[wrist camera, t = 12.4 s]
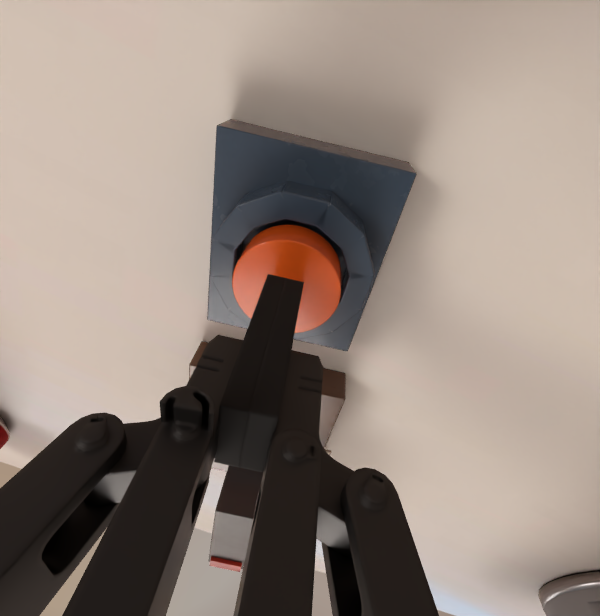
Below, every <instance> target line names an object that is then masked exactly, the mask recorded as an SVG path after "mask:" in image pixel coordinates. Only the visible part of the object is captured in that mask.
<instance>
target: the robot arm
mask: <svg viewBox="0 0 600 616" xmlns="http://www.w3.org/2000/svg"><path fill="white" fill-rule="evenodd" d="M303 285H304V282H301V281H297V280H293V279H288V278H284V277H280V276H275V275H271V274H268V275H267V278H266V280H265V283H264V286H263V289H262V291H261V294H260V297H259V299H258V302H257V305H256V308H255V310H254V313H253V316H252V318H251V321H250V324H249V327H248V329H247V332H246V335H245V337H244V340H239V339H234V338H230V337H225V336H221V335H218V336H216V337H215V338H214V339H213V340H211V341H210V342H209V343H208V344H207V345H206V347H205V349H204V351H203V353H202V356H201V357H200V359H199V361H198V363H197V367H196V368H195V370H194V372H193V374H192V376H191V378H190V380H189V382H188V384H187V386H184V387H180V388H176V389H174V390H172V391H171V392H169V393H167V394H166V395H165V396H164V397H163V399H162V400H161V401H160V411H161V418H159V419H156V420H153V421H148V422H139V423H127V424H123V423H122V421H121V420H120V419H119V418H118V417H116V416H115V415H112V414H108V413H95V414H91V415H88V416H85V417H83V418H80V419H79V420H78V421H76V422H75V423H73V424H72V425H70V426H69V427H68V428H67V429H66V430H65V431H64V432H63V433H61V434H60V435H59V436H58V437H57V438H56V439H55V440H54V441H53V442H51V443H50V444H49V445H48V446H47V447H46V448H45V449H44V450H43V451H41V452H40V453H39V454H38V455H37V456H36V457H35V458H34V459H33V460H31V461H30V462H29V463H28V464H27V465H26V466H25V467H24V468H23V469H21V470H20V471H19V472H18V473H17V474H16V475H15V476H14V477H13V478H11V479H10V480H9V481H8V482H7V483H6V484H5V485H4V486H3V487H1V488H0V616H39V615H40V614H41V613H42V612H43V610H44V609H45V608H46V606H47V605H48V604H49V602H50V601H51V600H52V598H53V597H54V596H55V595H56V593H57V592H58V591H59V589H60V588H61V587H62V585H63V584H64V583H65V582H66V580H67V579H68V578H69V576H70V575H71V574H72V572H73V571H74V570H75V568H76V567H77V566H78V565H79V563H80V562H81V560H82V559H83V558H84V557H85V555H86V554H87V553H88V552H89V550H90V549H91V548H92V546H93V545H94V544H95V542H96V541H97V540H98V538H99V537H100V536H101V534H102V533H103V532H104V531H105V529H106V528H107V529H106V531H105V533H104V535H103V537H102V539H101V541H100V543H99V545H98V547H97V549H96V551H95V553H94V555H93V557H92V559H91V561H90V563H89V565H88V567H87V569H86V570H85V573H84V574H83V576H82V578H81V580H80V582H79V584H78V586H77V588H76V590H75V592H74V594H73V596H72V598H71V600H70V602H69V604H68V606H67V608H66V610H65V611H64V613H63V615H62V616H166V613H167V609H168V607H169V604H170V600H171V597H172V594H173V591H174V588H175V585H176V582H177V579H178V576H179V573H180V570H181V566H182V563H183V560H184V557H185V554H186V551H187V548H188V545H189V542H190V539H191V535H192V532H193V529H194V526H195V523H196V520H197V517H198V514H199V511H200V508H201V505H202V502H203V498H204V495H205V492H206V489H207V486H208V483H209V475H210V470H211V467H212V464H213V461H214V462H216V463H220V464H225V465H230V466H235V467H239V468H244V469H249V470H254V471H258V472H263V476H262V481H261V486H260V490H259V493H258V497H257V501H256V505H255V506H256V508H255V513H254V518H253V523H252V528H251V533H250V537H249V542H248V547H247V552H246V557H245V562H244V567H243V572H242V577H241V582H240V587H239V591H238V597H237V601H236V606H235V611H234V616H312V600H313V583H314V568H315V551H316V539H318V540H320V541H321V542H322V548H323V555H324V561H325V568H326V574H327V581H328V587H329V594H330V601H331V607H332V614H333V616H439V615H438V611H437V608H436V606H435V603H434V600H433V597H432V594H431V591H430V588H429V585H428V582H427V579H426V576H425V573H424V570H423V567H422V564H421V561H420V558H419V555H418V552H417V549H416V546H415V543H414V540H413V537H412V534H411V532H410V529H409V526H408V523H407V520H406V517H405V514H404V511H403V508H402V505H401V502H400V499H399V496H398V493H397V491H396V489H395V487H394V485H393V483H392V482H391V481H390V480H389V479H388V478H387V477H386V476H385V475H384V474H382V473H380V472H379V471H377V470H375V469H370V468H362V469H358V470H356V471H355V472H354V471H353V470H351V469H349V468H347V467H346V466H344V465H342V464H340V463H339V462H337V461H336V460H334V459H333V458H331V457H330V455H329V454H328V453H327V452H326V451H325V449H324V448H323V446H322V444H321V441H320V436H319V427H320V412H321V397H322V394H321V393H322V381H323V366H322V364H321V361H320V359H319V357H318V356H315V355H310V354H306V353H301V352H297V351H292V350H291V349H292V343H293V338H294V333H295V327H296V322H297V317H298V311H299V306H300V301H301V295H302V290H303ZM214 458H215V460H214ZM538 595H539V599H540V601H541V604H542V607H543V610H544V612H545V613H546V615H547V616H600V571H599V572H589V573H581V574H576V575H571V576H567V577H563V578H559V579H557V580H554V581H552V582H550V583H548V584H546V585H545V586H543V587H542V588H541V589H540V591H539V594H538Z"/></svg>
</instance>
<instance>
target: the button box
mask: <svg viewBox="0 0 600 616" xmlns="http://www.w3.org/2000/svg"><path fill="white" fill-rule="evenodd" d="M415 177H416V172H415V171H414V169H413V168H412V166H411V165H410V163H409V162H405V161H401V160H397V159H393V158H389V157H385V156H381V155H377V154H372V153H368V152H364V151H360V150H356V149H352V148H348V147H343V146H339V145H335V144H331V143H327V142H323V141H319V140H315V139H310V138H306V137H302V136H298V135H294V134H290V133H286V132H282V131H277V130H273V129H269V128H265V127H261V126H257V125H253V124H249V123H244V122H240V121H236V120H232V119H230V120H228V121H226V122H224V123H221V124H219V125H217V130H216V151H215V171H214V192H213V213H212V234H211V254H210V275H209V296H208V317H207V319H208V320H210V321H215V322H219V323H223V324H228V325H232V326H237V327H241V328H246V329H248V327H249V324H250V321H251V318H249V317H248V316H247V315H246V314H245V313H244V312H243V310H242V309H241V308H240V306H239V304H238V303H237V301H236V298H235V296H234V292H233V287H232V277H233V271H234V268H235V266H236V264H237V262H238V260H239V258H240V257H241V255H242V253H243V251H244V249H245V248H246V246H247V244H248V243H249V242H250V240H251V239H252V238H253V237H254V236H255V235H257V234H258V233H260V232H261V231H263V230H265V229H267V228H270V227H273V226H278V225H297V226H302V227H305V228H308V229H310V230H312V231H314V232H316V233H318V234H319V235H321V236H322V237H323V238H325V239H326V240H327V241H328V242H329V243H330V244H331V246H332V247H333V248H334V250H335V252H336V253H337V255H338V258H339V261H340V265H341V297H340V301H339V304H338V306H337V308H336V310H335V312H334V313H333V314H332V316H331V317H330V318H329V319H328V320H327V321H326V322H324V323H323V324H322V325H320V326H318V327H316V328H314V329H312V330H309V331H305V332H300V333H294V338H293V339H295V340H299V341H303V342H308V343H312V344H317V345H321V346H326V347H330V348H335V349H339V350H343V351H348V349H349V346H350V344H351V341H352V339H353V336H354V334H355V331H356V328H357V326H358V323H359V321H360V318H361V316H362V313H363V310H364V308H365V305H366V303H367V300H368V298H369V295H370V292H371V290H372V287H373V285H374V282H375V280H376V277H377V274H378V272H379V269H380V267H381V264H382V262H383V259H384V256H385V254H386V251H387V249H388V246H389V244H390V241H391V238H392V236H393V233H394V231H395V228H396V226H397V223H398V220H399V218H400V215H401V213H402V210H403V208H404V205H405V202H406V200H407V197H408V195H409V192H410V190H411V187H412V185H413V182H414V179H415Z"/></svg>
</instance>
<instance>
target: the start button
mask: <svg viewBox="0 0 600 616" xmlns="http://www.w3.org/2000/svg"><path fill="white" fill-rule="evenodd" d="M268 274H271V275H275V276H280V277H284V278H288V279H293V280H297V281H301V282H304V285H303V290H302V295H301V301H300V306H299V311H298V317H297V322H296V327H295V333H300V332H305V331H309V330H312V329H314V328H316V327H318V326H320V325H322V324H323V323H324V322H326V321H327V320H328V319H329V318H330V317H331V316H332V314H333V313H334V312H335V310H336V308H337V306H338V304H339V301H340V297H341V265H340V261H339V258H338V255H337V253H336V252H335V250H334V248H333V247H332V246H331V244H330V243H329V242H328V241H327V240H326V239H325V238H323V237H322V236H321V235H319V234H318V233H316V232H314V231H312V230H310V229H308V228H305V227H302V226H297V225H278V226H273V227H270V228H267V229H265V230H263V231H261V232H260V233H258V234H257V235H255V236H254V237H253V238H252V239H251V240H250V242H249V243H248V244H247V246H246V248H245V249H244V251H243V253H242V255H241V257H240V258H239V260H238V262H237V264H236V266H235V268H234V271H233V277H232V287H233V292H234V296H235V298H236V301H237V303H238V304H239V306H240V308H241V309H242V310H243V312H244V313H245V314H246V315H247V316H248V317H249V318H252V316H253V313H254V310H255V308H256V305H257V302H258V299H259V297H260V294H261V291H262V289H263V286H264V283H265V280H266V278H267V275H268Z"/></svg>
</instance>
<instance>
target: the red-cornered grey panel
mask: <svg viewBox="0 0 600 616" xmlns="http://www.w3.org/2000/svg"><path fill="white" fill-rule="evenodd" d="M262 476H263V472H258V471H254V470H249V469H244V468H239V467H235V466H230V465H229V466H228V469H227V473H226V476H225V480H224V483H223V487H222V490H221V493H220V497H219V500H218V504H217V507H216V510H215V518H214V525H213V532H212V539H211V547H210V554H209V562H210V566H214V567H218V568H224V569H228V570H233V571H238V572H240V569H243V566H244V562H245V557H246V552H247V547H248V542H249V537H250V533H251V528H252V523H253V518H254V513H255V508H256V506H255V505H256V501H257V497H258V493H259V490H260V486H261V481H262Z"/></svg>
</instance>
